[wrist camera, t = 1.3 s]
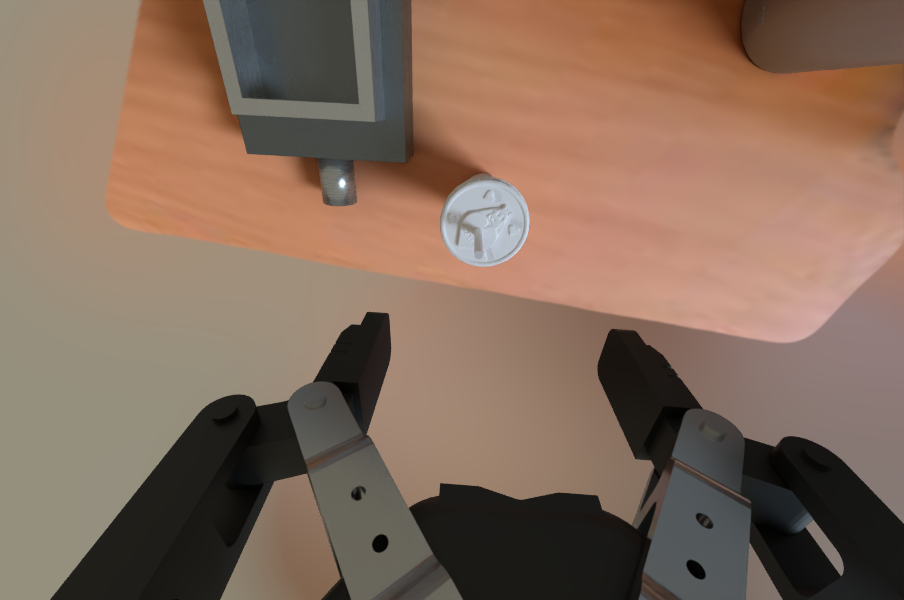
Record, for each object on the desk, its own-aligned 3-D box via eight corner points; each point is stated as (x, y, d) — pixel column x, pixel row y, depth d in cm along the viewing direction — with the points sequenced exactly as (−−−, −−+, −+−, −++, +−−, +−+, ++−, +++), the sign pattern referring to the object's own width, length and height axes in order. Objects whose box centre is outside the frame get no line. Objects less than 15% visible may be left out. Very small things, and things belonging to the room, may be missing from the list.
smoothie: (434, 187, 32) (410, 240, 20) (490, 141, 30) (501, 169, 18) (474, 238, 34) (474, 313, 22) (528, 200, 32) (562, 259, 20)
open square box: (409, -104, 22) (386, -179, 16) (413, 200, 33) (400, 222, 27) (218, -111, 23) (125, -187, 17) (281, 192, 33) (238, 212, 27)
